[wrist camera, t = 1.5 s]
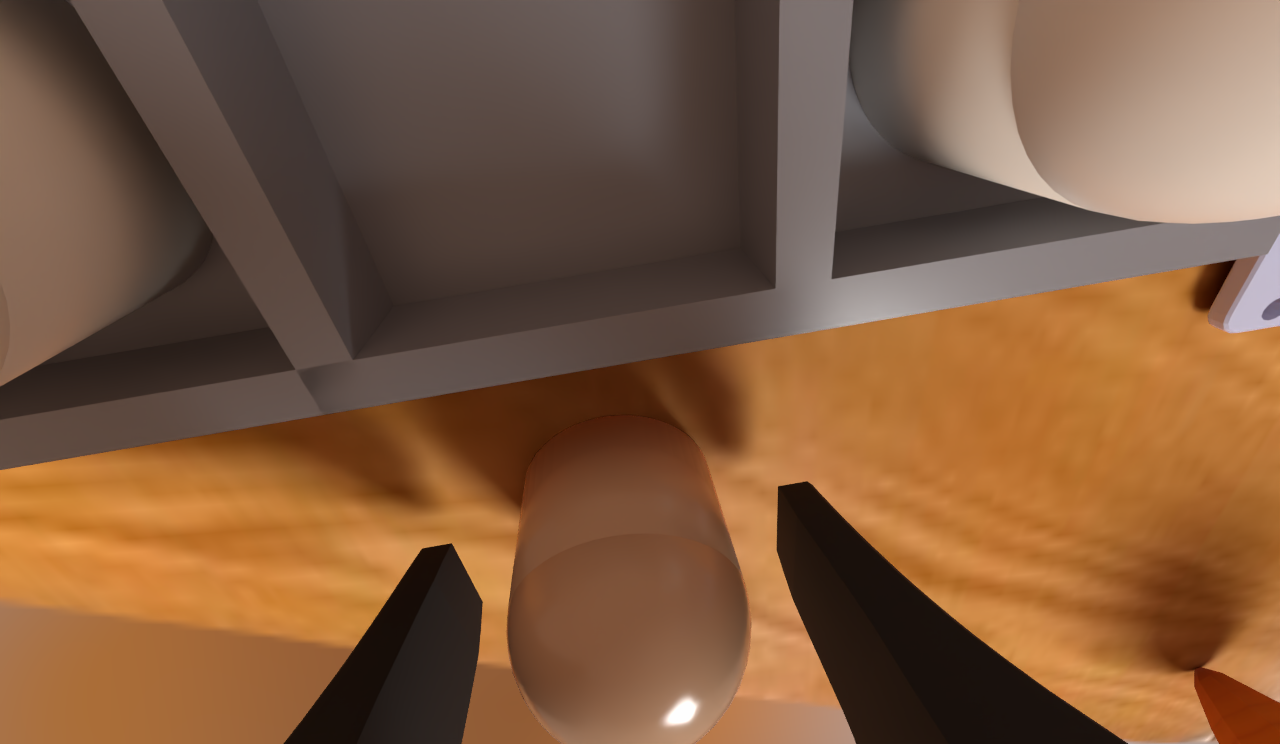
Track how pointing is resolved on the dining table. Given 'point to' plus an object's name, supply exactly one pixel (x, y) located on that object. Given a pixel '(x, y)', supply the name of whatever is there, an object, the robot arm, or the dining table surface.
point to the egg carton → (575, 185)
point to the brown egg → (625, 588)
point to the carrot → (1237, 710)
